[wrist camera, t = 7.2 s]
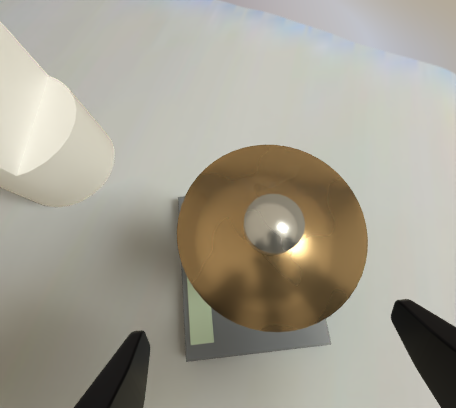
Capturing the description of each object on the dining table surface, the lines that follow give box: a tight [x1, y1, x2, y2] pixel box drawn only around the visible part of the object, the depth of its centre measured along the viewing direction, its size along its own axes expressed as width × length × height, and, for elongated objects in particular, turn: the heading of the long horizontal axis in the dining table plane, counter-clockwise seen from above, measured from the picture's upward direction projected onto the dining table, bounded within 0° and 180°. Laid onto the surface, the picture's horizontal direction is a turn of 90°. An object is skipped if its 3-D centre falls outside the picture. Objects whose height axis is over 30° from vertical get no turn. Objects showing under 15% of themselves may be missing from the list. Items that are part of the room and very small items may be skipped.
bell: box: [177, 145, 368, 332], centre depth 12 cm, size 5×5×14 cm
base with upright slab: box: [0, 22, 115, 207], centre depth 18 cm, size 9×9×12 cm
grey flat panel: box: [178, 197, 331, 362], centre depth 19 cm, size 12×10×1 cm
